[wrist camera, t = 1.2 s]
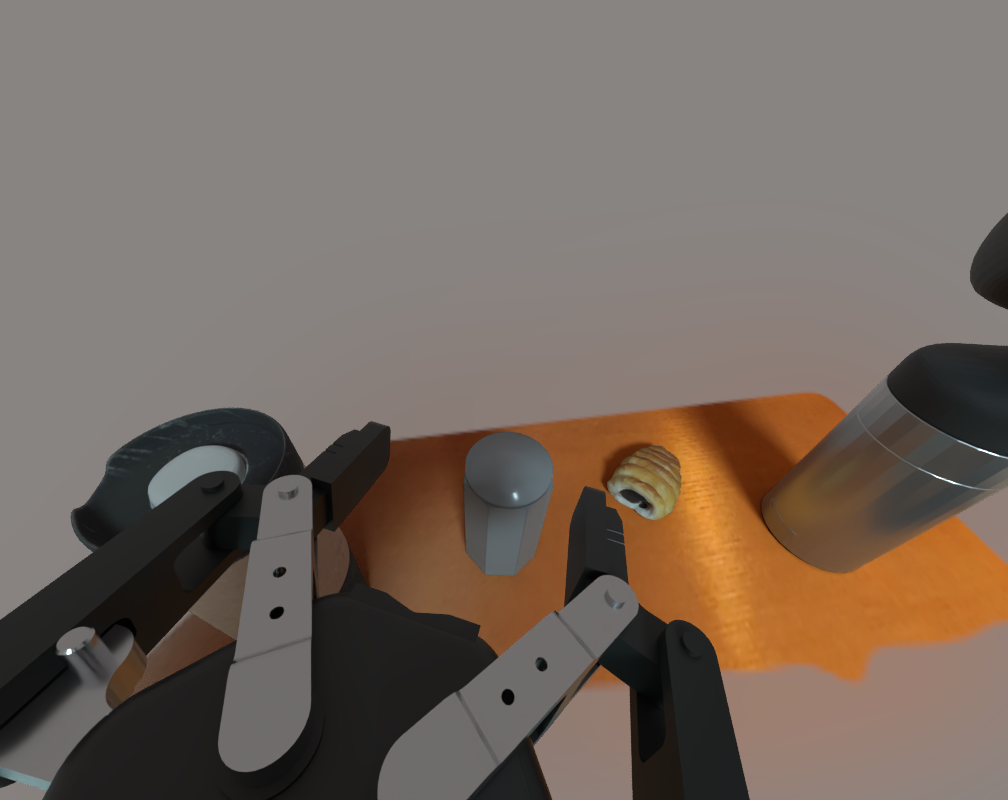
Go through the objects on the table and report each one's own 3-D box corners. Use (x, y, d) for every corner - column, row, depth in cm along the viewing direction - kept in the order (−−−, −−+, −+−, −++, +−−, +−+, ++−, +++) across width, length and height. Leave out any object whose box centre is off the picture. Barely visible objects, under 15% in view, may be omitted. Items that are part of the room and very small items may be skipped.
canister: (532, 511, 36) (549, 434, 28) (535, 576, 32) (556, 506, 24) (470, 508, 36) (469, 429, 28) (463, 573, 32) (460, 501, 23)
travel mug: (394, 600, 30) (326, 449, 16) (315, 700, 25) (122, 606, 11) (332, 550, 32) (229, 385, 19) (249, 632, 28) (30, 489, 14)
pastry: (635, 444, 44) (646, 423, 42) (689, 474, 42) (704, 454, 39) (600, 493, 39) (609, 473, 36) (659, 532, 36) (674, 513, 33)
